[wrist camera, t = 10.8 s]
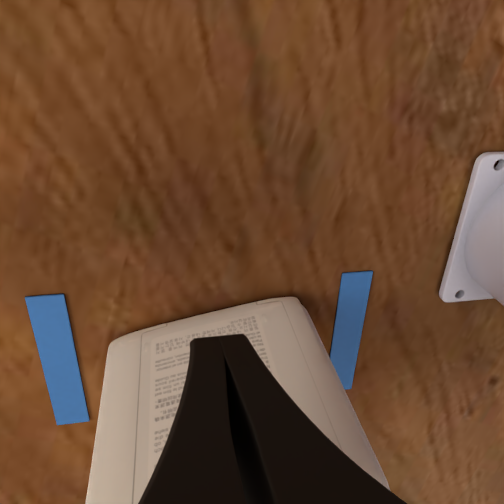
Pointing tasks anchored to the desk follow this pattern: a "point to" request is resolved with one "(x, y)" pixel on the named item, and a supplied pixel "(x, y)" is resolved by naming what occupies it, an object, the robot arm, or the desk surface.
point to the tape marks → (67, 369)
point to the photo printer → (173, 379)
